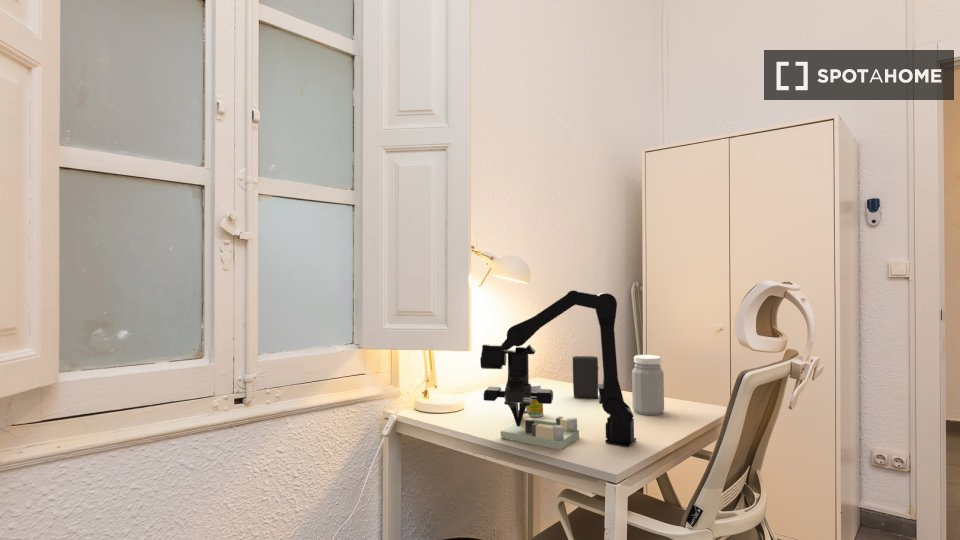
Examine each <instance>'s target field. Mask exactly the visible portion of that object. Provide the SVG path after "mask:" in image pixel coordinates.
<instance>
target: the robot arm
mask: <svg viewBox="0 0 960 540" xmlns="http://www.w3.org/2000/svg"><path fill="white" fill-rule="evenodd" d="M574 306H580V307H584V308H589V309H594V310H595V313H596V316H597V317H596V318H597V321H598V324H599V332H600V344H601V345H600V346H601V347H600V348H601V360H602V372H603V378H602V383H598V398H597V399H598V403H599V405H602V409H603V411H604V412H605V413H606V414H607V415H609V416H608V417H607V418H606V421H607V422H605V438H606V439H605V443H608V444H610V445H611V444H613V445H619V446H623V447H631V446H632V445H633V444H634V443H635V442H636V441H637V438H636V437H635V419H634V414H633V412H632V410H631V408H630V406H629V405H628V404H627V403H626V402H625V400H624V397H623V393H622V389H621V385H620V382H619V381H620V380H619V374H618V361H617V350H616V347H617V346H616V337H615V336H616V335H615V326H616V325H615V324H616V323H615V322H616V317H617V309H618V308H617V307H618V302H617V299H616V297H615V296H613V294H610V293H609V292H601V293H598V294H593V293H589V292H583V291H578V290H577V289H576V290H575V289H572V290H569V291H568V292H567V293H566V294H565V295H563V296H561V297H560V298H559V299H558V300H556V301H555V302H553V303H551V304H550V305H549V306H547V307H546V308H544V309H543V310H541V311H540V312H538V313H537V314H535V315H534V316H531V317H529V318H527V319H523V320H521V321H519V322H517V323H515V324H513V325H512V326H510V327H509V328H508V330H507V332H506V338H505V340H504V341H502V343H501V344H488V343H484V344H482V345H481V354H480V355H481V356H480V367H481V369H483V370H485V369H486V370H487V369H488V370H502V369H503V367H505V366H506V365H507V381H506V385H505V388H504V390H502V387H501V386H488V387H487V388H486V389H485V390H484V391H483V401H487V402H489V401H490V402H494V401H496V400H497V398H501V399H502V398H504V405H506V406H508V407H509V408H510V411H511V413H512V415H513V418H514V421H515V424H516V425H517V426H518V427H520V424H521V421H522V418H523V415H524V412H525V410H526V407H527V406H530V405H531V403H532V399H537V401H538V402H539V403H542V404H543V405H544V404H545V405H547V404H548V405H551V404H552V403H553V400H554V391H553V390H552V389H551V388H550V389H548V388H541V389H539V390H538V391H537V392H532V390H531V384H532V383H530V381H529V380H530V379H529V378H530V377H529V376H530V375H529V371H530V370H529V369H530V368H529V355H534V354H536V349H534V348H533V347H532V346H531V344H528V345H527V346H526V347H524V344H526V343H527V342H528V341H529V340H530V339H531V338H532V337H533V336H534V334H536V333H537V332H538V331H539V330H540V329H541V328H542V327H544V326H545V325H548V323H550V322H552V321H553V320H554V319H556V318H557V317H559V316H560V315H562V314H563V313H565V312H566V311H568V310H569V309H571V308H572V307H574ZM520 346H521V347H520ZM522 346H523V347H522ZM513 347H515V350H514V349H511V348H513ZM510 349H511V350H510Z"/></svg>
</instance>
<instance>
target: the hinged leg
mask: <svg viewBox="0 0 960 540" xmlns="http://www.w3.org/2000/svg"><path fill="white" fill-rule="evenodd" d="M532 419H533V418H532V417H531V416H529V414H528V411H527V410H526V409H525V412H524V415H523V418H522V421H521V425H522V427H523V428H524V430H525V432H526V433H532V424H534V420H532Z"/></svg>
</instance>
